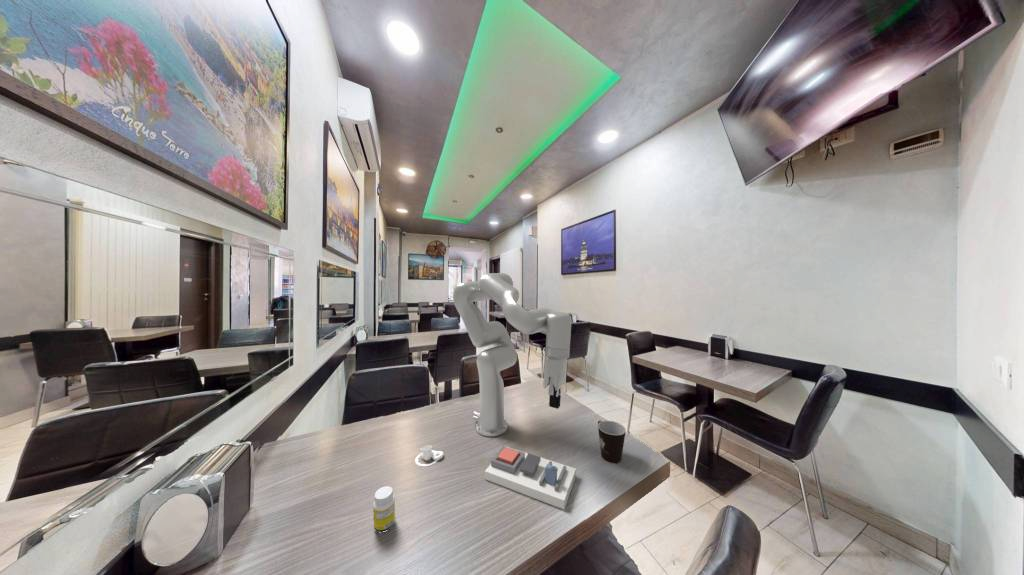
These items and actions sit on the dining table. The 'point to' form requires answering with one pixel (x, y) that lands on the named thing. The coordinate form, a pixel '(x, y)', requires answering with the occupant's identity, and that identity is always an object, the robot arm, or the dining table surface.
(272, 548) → the dining table surface
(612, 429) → the coffee mug
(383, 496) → the supplement bottle
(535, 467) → the block
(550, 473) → the paddle
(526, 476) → the panel
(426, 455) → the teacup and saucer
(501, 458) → the button
